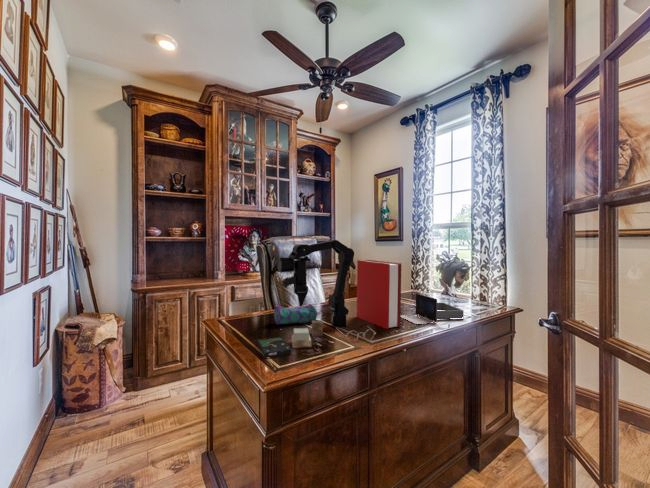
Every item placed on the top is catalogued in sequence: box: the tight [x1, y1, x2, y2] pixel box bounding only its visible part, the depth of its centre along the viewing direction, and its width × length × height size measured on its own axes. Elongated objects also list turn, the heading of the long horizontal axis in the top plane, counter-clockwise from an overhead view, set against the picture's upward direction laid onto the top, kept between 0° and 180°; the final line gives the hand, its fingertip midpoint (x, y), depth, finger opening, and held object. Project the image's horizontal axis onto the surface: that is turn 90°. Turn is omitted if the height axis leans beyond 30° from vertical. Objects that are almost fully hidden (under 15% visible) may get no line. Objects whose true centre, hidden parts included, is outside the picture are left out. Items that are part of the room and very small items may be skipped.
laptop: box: [400, 293, 438, 326], centre depth 163 cm, size 18×12×13 cm
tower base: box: [291, 334, 312, 349], centre depth 123 cm, size 8×8×3 cm
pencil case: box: [273, 303, 318, 325], centre depth 154 cm, size 21×9×10 cm, turn 113°
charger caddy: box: [437, 302, 464, 319], centre depth 173 cm, size 18×21×5 cm
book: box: [356, 259, 402, 330], centre depth 158 cm, size 27×8×32 cm, turn 30°
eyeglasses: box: [333, 323, 377, 342], centre depth 137 cm, size 16×19×5 cm
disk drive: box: [257, 336, 293, 359], centre depth 117 cm, size 10×3×15 cm
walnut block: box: [311, 319, 324, 338], centre depth 135 cm, size 4×4×6 cm
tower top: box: [293, 327, 310, 341], centre depth 123 cm, size 6×6×3 cm
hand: (300, 303), depth 140 cm, fingers open, 9 cm apart
